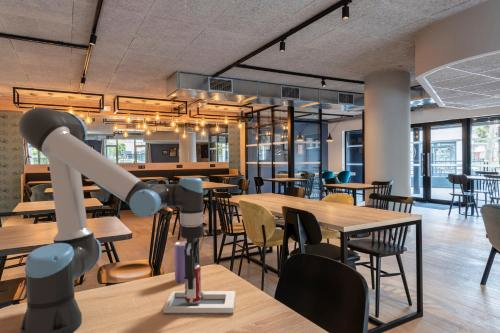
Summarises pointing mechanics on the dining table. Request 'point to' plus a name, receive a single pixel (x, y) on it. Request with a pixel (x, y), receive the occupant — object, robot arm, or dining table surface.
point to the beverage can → (180, 261)
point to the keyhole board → (201, 304)
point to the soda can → (198, 286)
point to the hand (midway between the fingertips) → (193, 293)
